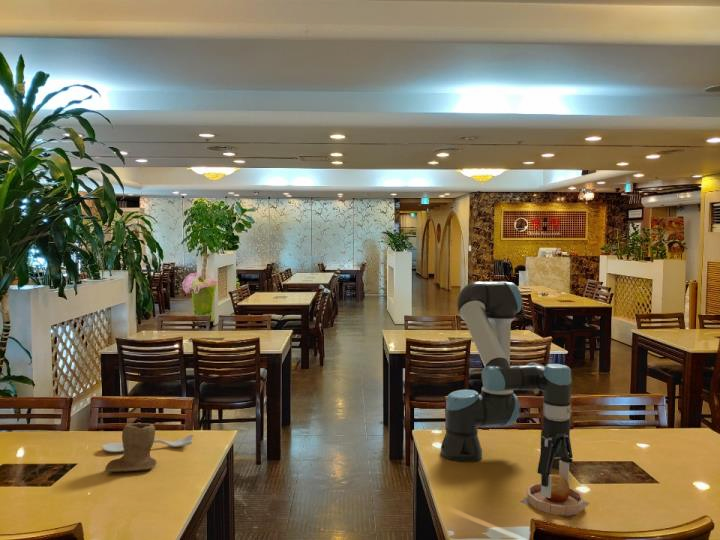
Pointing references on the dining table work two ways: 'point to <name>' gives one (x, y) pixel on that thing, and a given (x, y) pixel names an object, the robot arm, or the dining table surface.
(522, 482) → the dining table surface
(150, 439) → the brown boot
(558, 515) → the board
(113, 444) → the spoon
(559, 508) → the bowl
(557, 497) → the fruit
